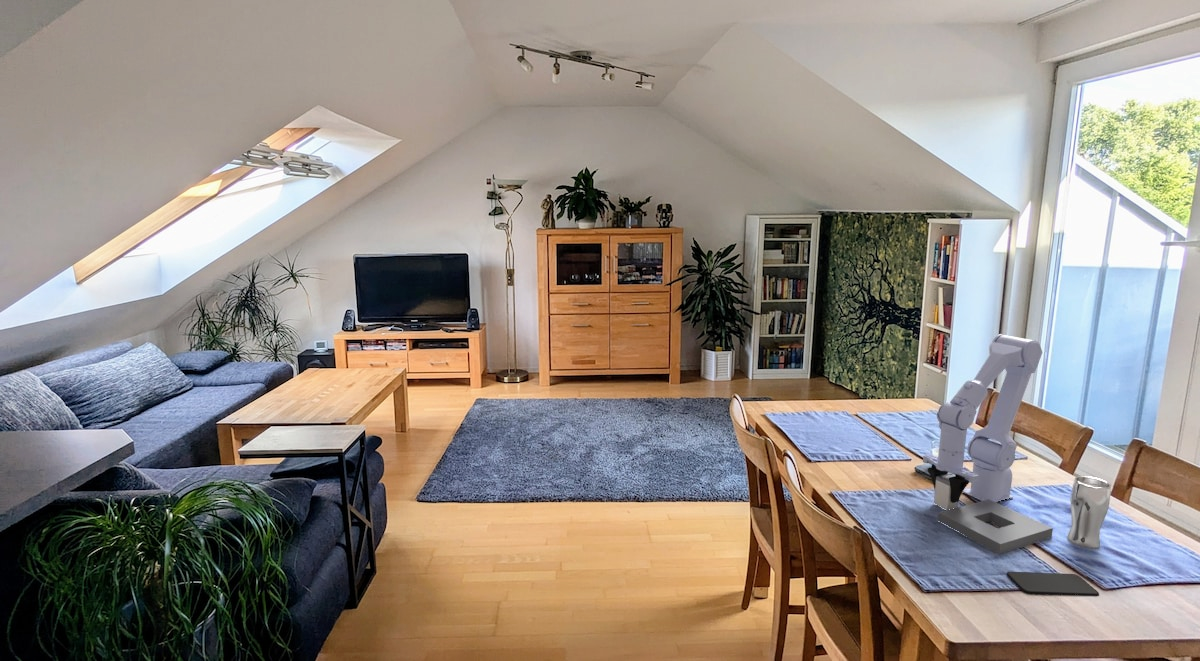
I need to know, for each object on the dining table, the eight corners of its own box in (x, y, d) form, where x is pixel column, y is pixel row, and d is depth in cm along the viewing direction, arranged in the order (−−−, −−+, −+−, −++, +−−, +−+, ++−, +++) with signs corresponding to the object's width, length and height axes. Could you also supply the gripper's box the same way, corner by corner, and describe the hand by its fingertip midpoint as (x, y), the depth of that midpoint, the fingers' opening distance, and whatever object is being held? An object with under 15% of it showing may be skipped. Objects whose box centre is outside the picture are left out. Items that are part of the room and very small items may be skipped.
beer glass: (1095, 536, 146) (1104, 477, 143) (1107, 551, 140) (1117, 490, 137) (1060, 532, 149) (1068, 473, 146) (1071, 546, 142) (1080, 486, 139)
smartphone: (1102, 594, 124) (1025, 591, 125) (1101, 598, 124) (1025, 596, 125) (1076, 573, 131) (1004, 570, 132) (1076, 577, 131) (1003, 574, 132)
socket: (987, 508, 161) (988, 499, 160) (1051, 537, 146) (1052, 528, 146) (937, 521, 154) (938, 512, 154) (999, 554, 139) (1000, 544, 139)
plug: (944, 501, 164) (947, 473, 163) (958, 508, 161) (961, 479, 159) (933, 504, 163) (936, 476, 161) (946, 511, 159) (950, 482, 158)
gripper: (916, 441, 164) (912, 489, 167) (966, 461, 151) (960, 513, 153) (935, 437, 166) (931, 484, 169) (986, 457, 153) (980, 507, 156)
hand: (946, 497), depth 161 cm, fingers closed on plug, 4 cm apart
